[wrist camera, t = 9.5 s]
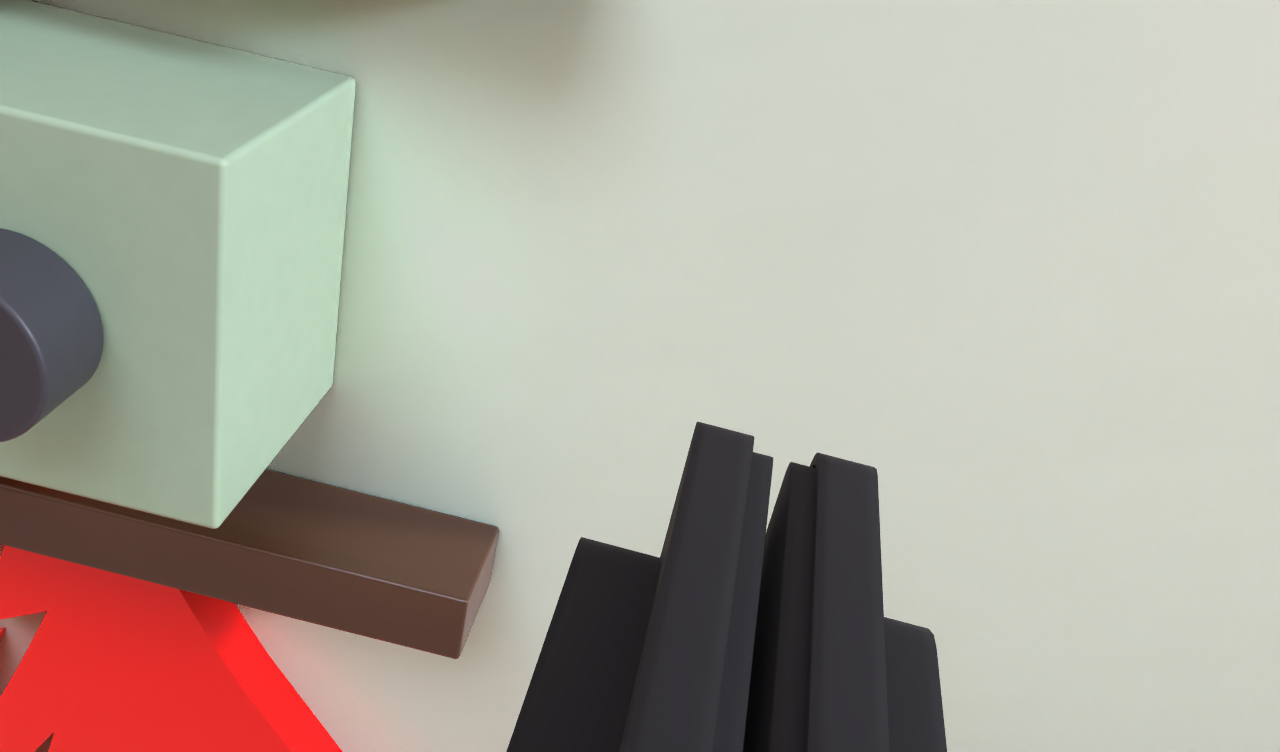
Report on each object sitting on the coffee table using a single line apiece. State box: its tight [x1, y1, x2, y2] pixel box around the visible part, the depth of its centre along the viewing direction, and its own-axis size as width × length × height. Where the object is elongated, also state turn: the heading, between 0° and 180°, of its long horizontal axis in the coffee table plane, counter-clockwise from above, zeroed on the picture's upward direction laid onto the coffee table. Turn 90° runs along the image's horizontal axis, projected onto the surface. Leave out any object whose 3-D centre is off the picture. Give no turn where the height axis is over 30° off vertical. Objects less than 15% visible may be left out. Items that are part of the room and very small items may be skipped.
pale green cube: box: [0, 0, 356, 529], centre depth 15 cm, size 5×5×5 cm
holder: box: [0, 469, 499, 659], centre depth 16 cm, size 11×9×2 cm
